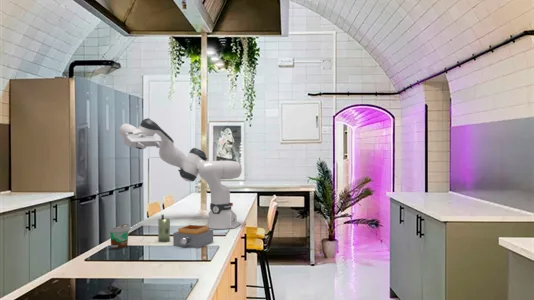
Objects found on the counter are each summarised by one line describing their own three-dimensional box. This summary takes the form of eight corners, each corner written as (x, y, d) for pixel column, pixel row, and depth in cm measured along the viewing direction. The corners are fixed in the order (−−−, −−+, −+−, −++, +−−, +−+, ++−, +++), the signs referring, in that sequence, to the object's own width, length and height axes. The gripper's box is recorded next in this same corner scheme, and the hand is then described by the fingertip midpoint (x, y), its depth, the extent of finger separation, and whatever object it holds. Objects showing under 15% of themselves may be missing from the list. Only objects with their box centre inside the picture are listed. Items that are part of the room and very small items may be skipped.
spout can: (162, 239, 230) (162, 213, 229) (172, 240, 228) (171, 213, 227) (156, 241, 224) (156, 214, 224) (165, 242, 222) (165, 215, 222)
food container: (121, 250, 207) (121, 228, 206) (109, 249, 208) (109, 227, 208) (134, 244, 219) (134, 223, 218) (123, 243, 220) (123, 223, 220)
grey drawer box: (188, 239, 229) (188, 224, 229) (213, 241, 224) (213, 225, 224) (169, 246, 213) (169, 229, 213) (195, 249, 208) (195, 232, 208)
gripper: (153, 143, 261) (166, 151, 252) (121, 143, 245) (134, 153, 237) (154, 132, 259) (168, 141, 251) (122, 133, 244) (136, 141, 235)
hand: (151, 146), depth 244 cm, fingers open, 8 cm apart
